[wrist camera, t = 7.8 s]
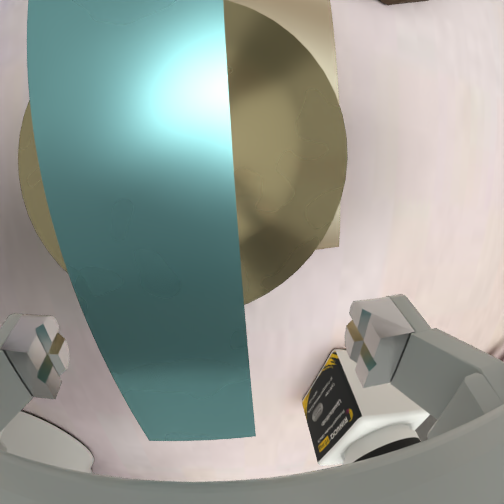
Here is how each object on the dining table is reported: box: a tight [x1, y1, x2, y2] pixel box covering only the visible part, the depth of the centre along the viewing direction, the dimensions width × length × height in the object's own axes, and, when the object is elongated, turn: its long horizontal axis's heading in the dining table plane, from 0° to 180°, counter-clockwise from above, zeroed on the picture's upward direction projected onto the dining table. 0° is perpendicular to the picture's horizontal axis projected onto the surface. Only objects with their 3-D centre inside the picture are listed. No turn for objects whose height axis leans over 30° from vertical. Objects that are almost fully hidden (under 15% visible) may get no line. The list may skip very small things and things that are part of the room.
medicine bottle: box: [302, 349, 430, 466], centre depth 20 cm, size 7×7×12 cm
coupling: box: [18, 0, 347, 441], centre depth 8 cm, size 8×11×10 cm
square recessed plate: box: [228, 0, 340, 250], centre depth 12 cm, size 14×14×6 cm
